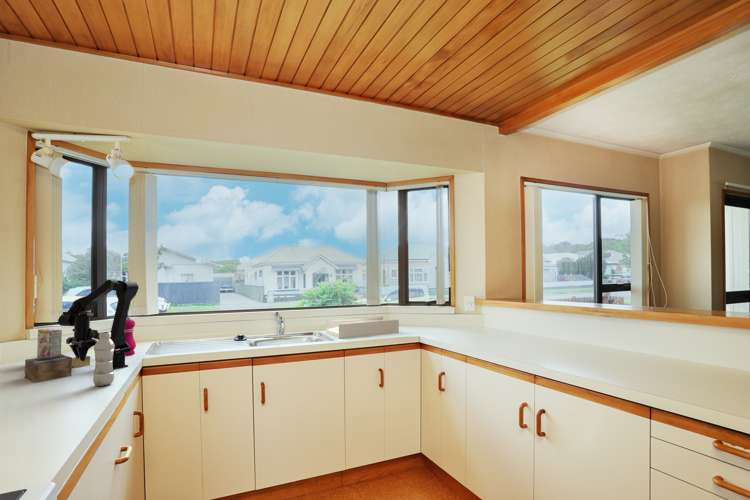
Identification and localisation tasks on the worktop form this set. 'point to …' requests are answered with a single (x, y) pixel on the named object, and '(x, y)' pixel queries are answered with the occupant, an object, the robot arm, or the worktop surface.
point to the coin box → (48, 368)
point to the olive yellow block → (80, 362)
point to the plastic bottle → (104, 360)
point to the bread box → (361, 327)
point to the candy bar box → (49, 342)
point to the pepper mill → (130, 336)
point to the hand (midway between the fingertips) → (80, 360)
